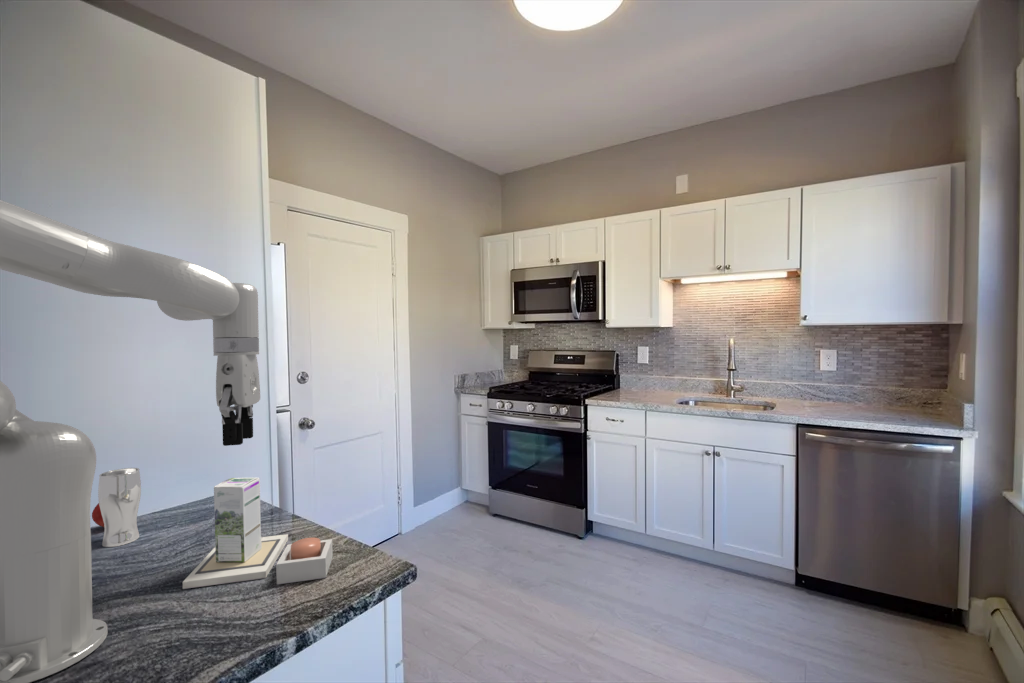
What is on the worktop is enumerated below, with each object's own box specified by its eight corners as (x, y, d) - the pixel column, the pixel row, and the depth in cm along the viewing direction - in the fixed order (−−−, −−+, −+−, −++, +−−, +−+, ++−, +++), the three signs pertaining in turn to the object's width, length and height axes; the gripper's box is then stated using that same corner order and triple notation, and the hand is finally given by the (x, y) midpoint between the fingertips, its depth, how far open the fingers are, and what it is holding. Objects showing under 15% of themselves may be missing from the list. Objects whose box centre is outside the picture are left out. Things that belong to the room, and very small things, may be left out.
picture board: (266, 577, 80) (265, 570, 80) (182, 588, 77) (182, 581, 77) (288, 539, 95) (288, 533, 95) (219, 547, 92) (219, 541, 92)
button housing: (325, 577, 79) (325, 558, 79) (276, 584, 78) (276, 564, 78) (332, 556, 87) (332, 539, 87) (288, 562, 85) (287, 544, 85)
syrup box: (262, 548, 88) (261, 475, 88) (244, 563, 83) (242, 485, 83) (234, 549, 89) (233, 476, 89) (214, 564, 83) (212, 485, 83)
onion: (85, 532, 102) (85, 497, 102) (114, 522, 107) (114, 489, 107) (103, 534, 100) (102, 499, 100) (131, 524, 106) (131, 490, 106)
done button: (318, 560, 81) (317, 547, 81) (287, 564, 79) (287, 551, 79) (322, 548, 85) (322, 536, 85) (294, 552, 84) (294, 539, 84)
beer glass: (137, 531, 102) (136, 465, 102) (145, 539, 97) (144, 470, 97) (96, 542, 96) (95, 473, 96) (102, 551, 92) (101, 478, 92)
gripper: (243, 347, 79) (245, 450, 79) (270, 346, 95) (272, 431, 95) (194, 348, 77) (196, 453, 77) (231, 347, 93) (233, 434, 93)
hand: (238, 440), depth 86 cm, fingers open, 5 cm apart
